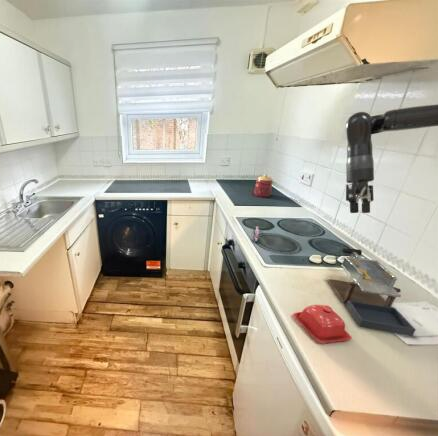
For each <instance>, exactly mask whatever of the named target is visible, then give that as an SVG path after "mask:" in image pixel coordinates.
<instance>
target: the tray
mask: <svg viewBox="0 0 438 436" xmlns="http://www.w3.org/2000/svg"><path fill="white" fill-rule="evenodd" d="M345 307H346V309H347V310H348V311H349V313H350V314H351V316H352V318H353V319H354V321H355V322H356V324H357V325H358V326H359V327H361V328H367V329H371V330H378V331H383V332H387V333H388V332H389V333H393V334H399V335H405V336H410V337H412V336H413V335H414V334H415V331H416V328H415V327H414V326H413V325H412V324H411V323H410V322H409V321H408V320H407V319H406V318H405V316H404V315H403V314H402V313H401V312H399V311H400V310H398V308H396V307H394V306H391V307H387V306H381V305H375V304H369V303H363V302H356V301H350V300H348V301H347V304H346V303H345Z"/></svg>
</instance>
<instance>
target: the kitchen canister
mask: <svg viewBox="0 0 438 436" xmlns="http://www.w3.org/2000/svg"><path fill="white" fill-rule="evenodd" d="M255 182H256V183H255V185H254V190H253V195H254V196H256V197H259V198H269V197H271V195H272V189H273V184H274V182H273V178H272V177H270V176H268V174H263V175H260V176H258V177H257V179H256V180H255Z"/></svg>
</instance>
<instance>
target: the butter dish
mask: <svg viewBox="0 0 438 436" xmlns="http://www.w3.org/2000/svg"><path fill="white" fill-rule="evenodd" d="M292 316H293V317H294V319H295V320H296V321H297V322H298V323H299V324H300V325H301V326H302V327H303V328H304V329H305V330H306V332H307V333H309V335H310V336H311V337H312V338H313V339H314V340H315V341H316V342H317V343H322V344H324V343H325V344H327V343H335V342H344V341H349V340H353V338H352V336H351V334H350V333H349V332H347V331H346V323H345V320H344V319H343V318H342V317H341V316H340V315H339V314H338V313H337V312H335V311H334V310H333V308H332V307H331V306H329V305H327V304H312V305H308V306H306V307H305V308H303V309H302V311H297V312H294V313H292Z"/></svg>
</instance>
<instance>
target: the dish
mask: <svg viewBox="0 0 438 436" xmlns="http://www.w3.org/2000/svg"><path fill="white" fill-rule="evenodd" d="M342 253H343V254H345V255H352V256H353V257H352V256H344V258H343V261H342V263H341V268H342V270H343V271H344V272H345V273H346V274H347V276H348V277H349V278H350V279H351V281H354V282H355V283H356V285H357V286H358V287H359V288H360V289H361V291H362V292H368V293H374V294H379V295H380V296H381V295H382V296H386V297H388V296H394V297H396V298H401V297H402V294H400V292H397V291H396V290H395V289H394V288H393V287H395V286H394V285H395V283H396V282H397V280H398V277H396V275H394V274H393V273H392V272H391V271H390V270H389V269H388V268H386V267H385V266H384V265H383V264H382V263H381V262H380V261H379V260H375V259H368V258H362V257H361V256H362V254H363V251H362V250H361V249H357V248H348V247H344V248H342ZM359 269H364V270H366V271H367V273H366V274H367V275H368V276H369V277H370V278H371V280H369V279H364V278H363V276H365V275H364V274H363V273H362V272H361V271H360V270H359Z"/></svg>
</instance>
